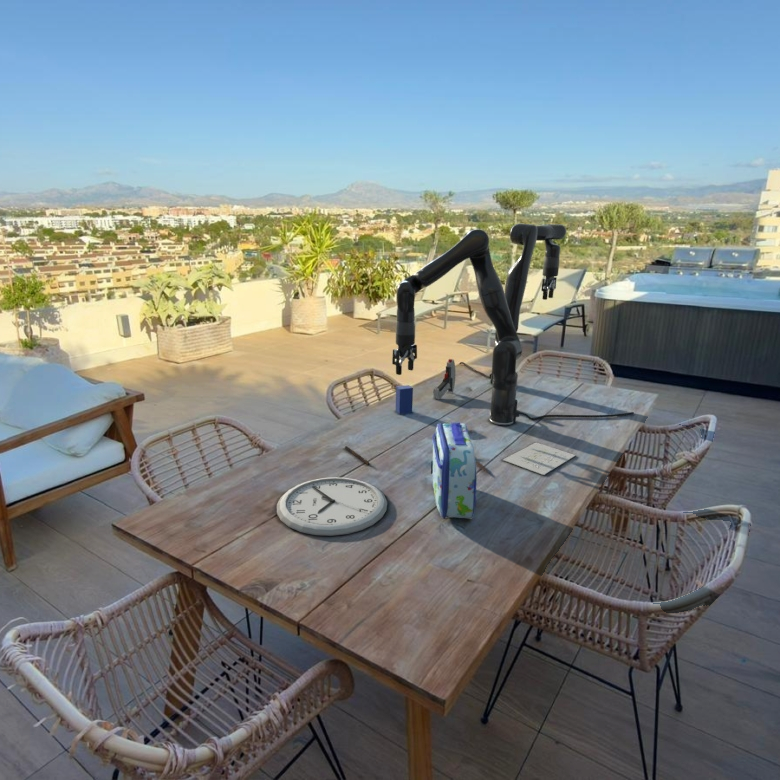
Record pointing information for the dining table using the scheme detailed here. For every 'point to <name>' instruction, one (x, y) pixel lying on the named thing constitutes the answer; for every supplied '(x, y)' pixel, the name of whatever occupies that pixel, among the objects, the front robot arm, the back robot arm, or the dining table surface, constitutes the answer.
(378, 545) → the dining table surface
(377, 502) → the wall clock
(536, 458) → the invitation card
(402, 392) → the block
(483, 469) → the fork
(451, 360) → the toy gun
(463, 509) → the lunch box
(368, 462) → the brown wooden stick
